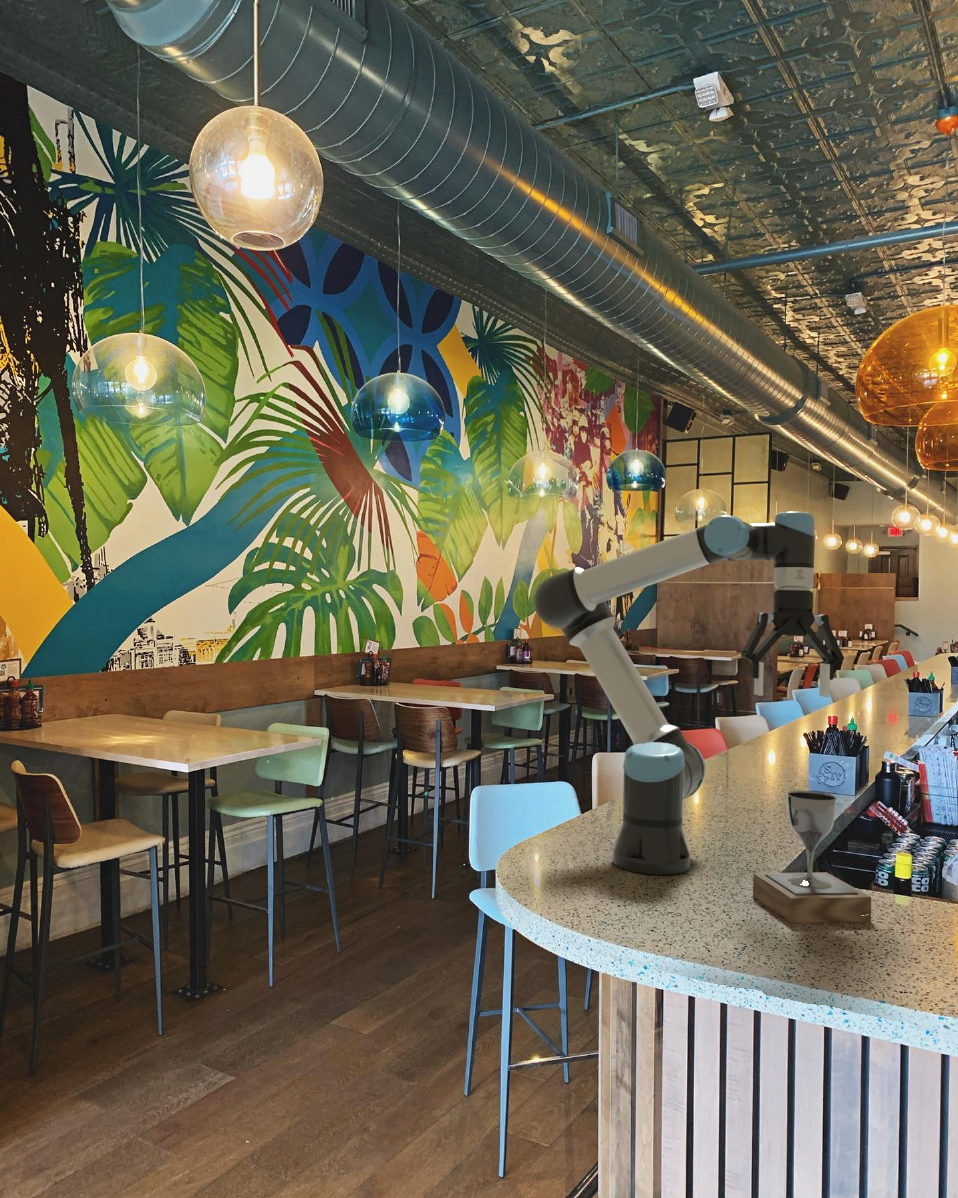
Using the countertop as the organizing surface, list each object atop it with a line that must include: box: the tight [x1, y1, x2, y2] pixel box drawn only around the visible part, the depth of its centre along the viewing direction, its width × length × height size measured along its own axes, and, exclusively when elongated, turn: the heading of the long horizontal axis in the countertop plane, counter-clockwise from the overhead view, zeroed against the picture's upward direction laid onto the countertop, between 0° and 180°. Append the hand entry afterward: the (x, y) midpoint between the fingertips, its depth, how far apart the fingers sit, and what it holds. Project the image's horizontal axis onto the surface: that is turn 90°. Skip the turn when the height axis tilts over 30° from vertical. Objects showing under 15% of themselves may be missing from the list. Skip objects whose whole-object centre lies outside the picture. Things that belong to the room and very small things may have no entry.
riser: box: [752, 871, 872, 924], centre depth 153 cm, size 14×14×4 cm
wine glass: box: [786, 790, 837, 889], centre depth 153 cm, size 8×8×15 cm
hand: (791, 696), depth 178 cm, fingers open, 13 cm apart
